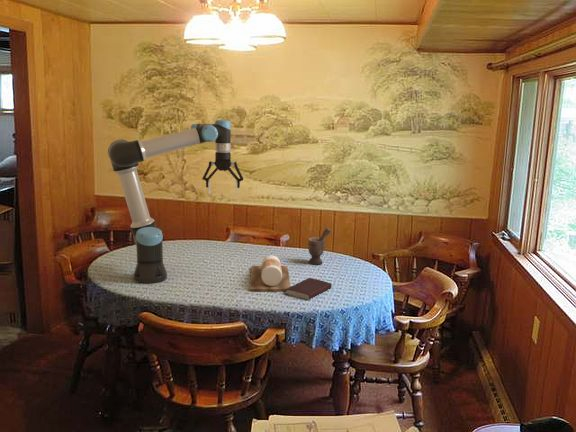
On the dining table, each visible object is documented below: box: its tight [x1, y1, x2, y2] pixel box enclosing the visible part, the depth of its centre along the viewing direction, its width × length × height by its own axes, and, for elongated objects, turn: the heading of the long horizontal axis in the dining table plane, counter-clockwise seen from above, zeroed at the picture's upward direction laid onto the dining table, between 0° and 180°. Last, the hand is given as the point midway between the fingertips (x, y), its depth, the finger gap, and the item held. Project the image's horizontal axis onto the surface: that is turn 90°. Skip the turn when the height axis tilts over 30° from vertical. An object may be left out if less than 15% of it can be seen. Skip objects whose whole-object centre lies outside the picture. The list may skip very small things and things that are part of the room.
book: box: [285, 277, 333, 301], centre depth 238 cm, size 12×19×3 cm, turn 146°
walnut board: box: [249, 265, 292, 293], centre depth 253 cm, size 18×36×1 cm, turn 3°
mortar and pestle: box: [307, 227, 332, 266], centre depth 279 cm, size 12×9×20 cm
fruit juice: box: [261, 254, 282, 286], centre depth 252 cm, size 9×9×28 cm
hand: (222, 194), depth 268 cm, fingers open, 13 cm apart
